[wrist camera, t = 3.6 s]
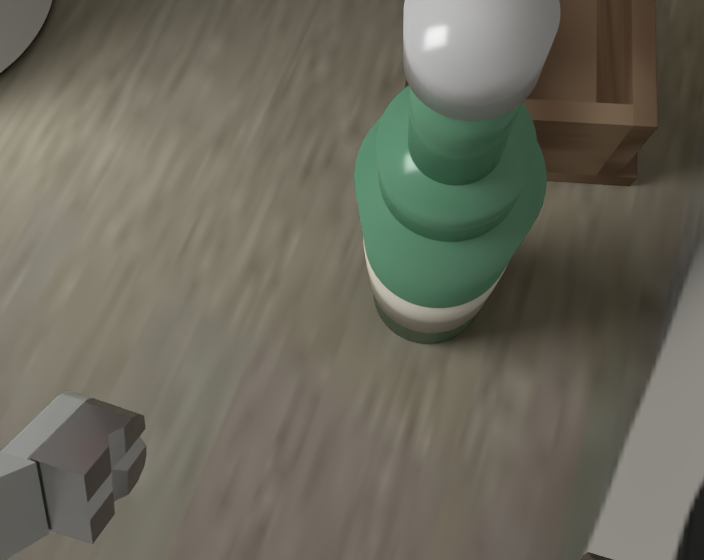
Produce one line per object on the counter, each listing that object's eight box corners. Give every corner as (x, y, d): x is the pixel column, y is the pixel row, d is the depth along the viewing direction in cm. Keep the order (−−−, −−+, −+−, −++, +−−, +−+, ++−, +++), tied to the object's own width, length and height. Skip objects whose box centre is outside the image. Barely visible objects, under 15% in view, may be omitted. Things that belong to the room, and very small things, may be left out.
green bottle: (367, 339, 30) (306, 143, 10) (377, 235, 31) (342, -119, 11) (478, 350, 30) (647, 164, 10) (484, 243, 31) (642, -114, 11)
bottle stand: (398, 170, 32) (398, 112, 27) (414, -3, 35) (417, -90, 29) (629, 186, 31) (682, 128, 25) (628, 5, 34) (675, -84, 28)
